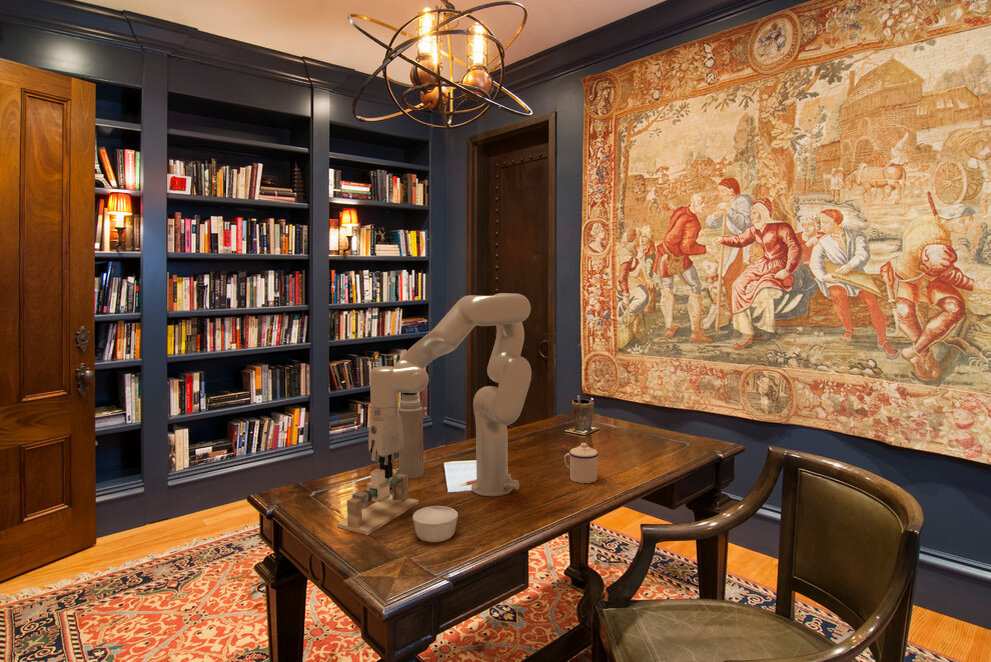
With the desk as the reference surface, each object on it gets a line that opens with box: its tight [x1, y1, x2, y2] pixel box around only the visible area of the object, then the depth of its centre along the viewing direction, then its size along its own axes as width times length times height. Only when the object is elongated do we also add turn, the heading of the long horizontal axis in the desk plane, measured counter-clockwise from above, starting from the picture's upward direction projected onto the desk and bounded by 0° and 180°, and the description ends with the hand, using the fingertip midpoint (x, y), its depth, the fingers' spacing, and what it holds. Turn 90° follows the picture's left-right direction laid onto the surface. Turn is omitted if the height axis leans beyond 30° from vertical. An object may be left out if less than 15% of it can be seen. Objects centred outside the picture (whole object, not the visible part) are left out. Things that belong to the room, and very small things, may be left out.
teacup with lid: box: [563, 442, 599, 484], centre depth 176 cm, size 12×9×12 cm
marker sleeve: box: [366, 468, 391, 502], centre depth 148 cm, size 4×5×8 cm
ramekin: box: [412, 505, 459, 543], centre depth 137 cm, size 11×11×5 cm
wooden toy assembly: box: [336, 473, 419, 536], centre depth 149 cm, size 22×10×9 cm, turn 153°
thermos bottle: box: [398, 392, 425, 480], centre depth 179 cm, size 8×8×28 cm
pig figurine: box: [385, 469, 399, 481], centre depth 168 cm, size 8×4×7 cm, turn 137°
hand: (386, 477), depth 151 cm, fingers closed
